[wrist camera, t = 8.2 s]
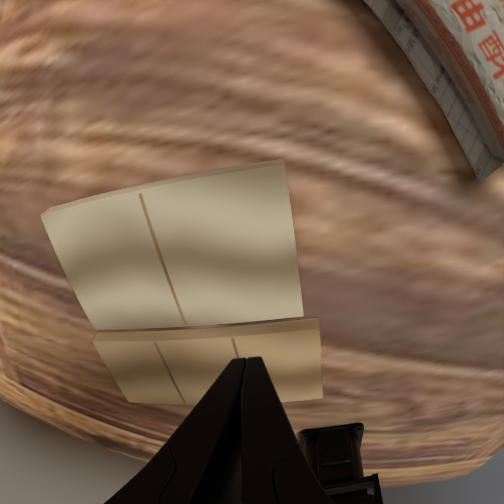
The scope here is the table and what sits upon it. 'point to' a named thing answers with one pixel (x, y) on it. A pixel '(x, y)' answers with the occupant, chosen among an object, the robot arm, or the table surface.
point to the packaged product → (457, 66)
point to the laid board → (212, 359)
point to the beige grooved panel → (183, 250)
